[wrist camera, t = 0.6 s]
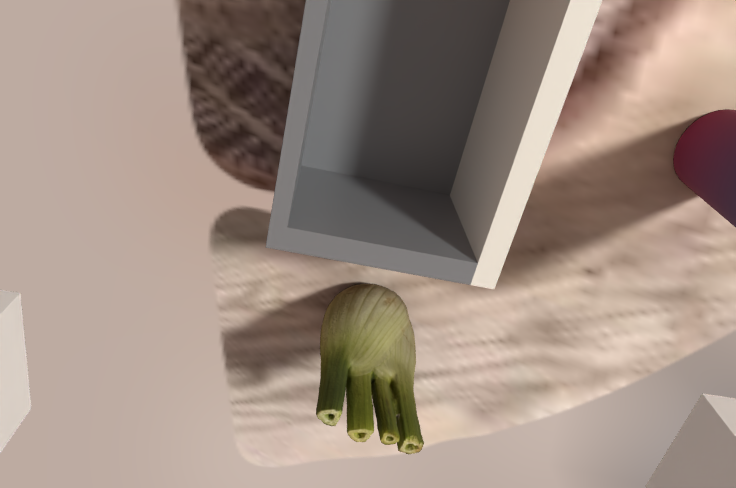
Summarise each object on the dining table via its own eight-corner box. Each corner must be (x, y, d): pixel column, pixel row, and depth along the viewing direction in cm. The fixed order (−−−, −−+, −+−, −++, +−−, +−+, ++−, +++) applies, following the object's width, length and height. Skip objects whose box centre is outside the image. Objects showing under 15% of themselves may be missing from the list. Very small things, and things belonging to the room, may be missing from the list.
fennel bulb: (314, 294, 39) (301, 425, 28) (373, 255, 37) (383, 376, 27) (366, 350, 41) (372, 491, 30) (423, 314, 40) (451, 448, 29)
